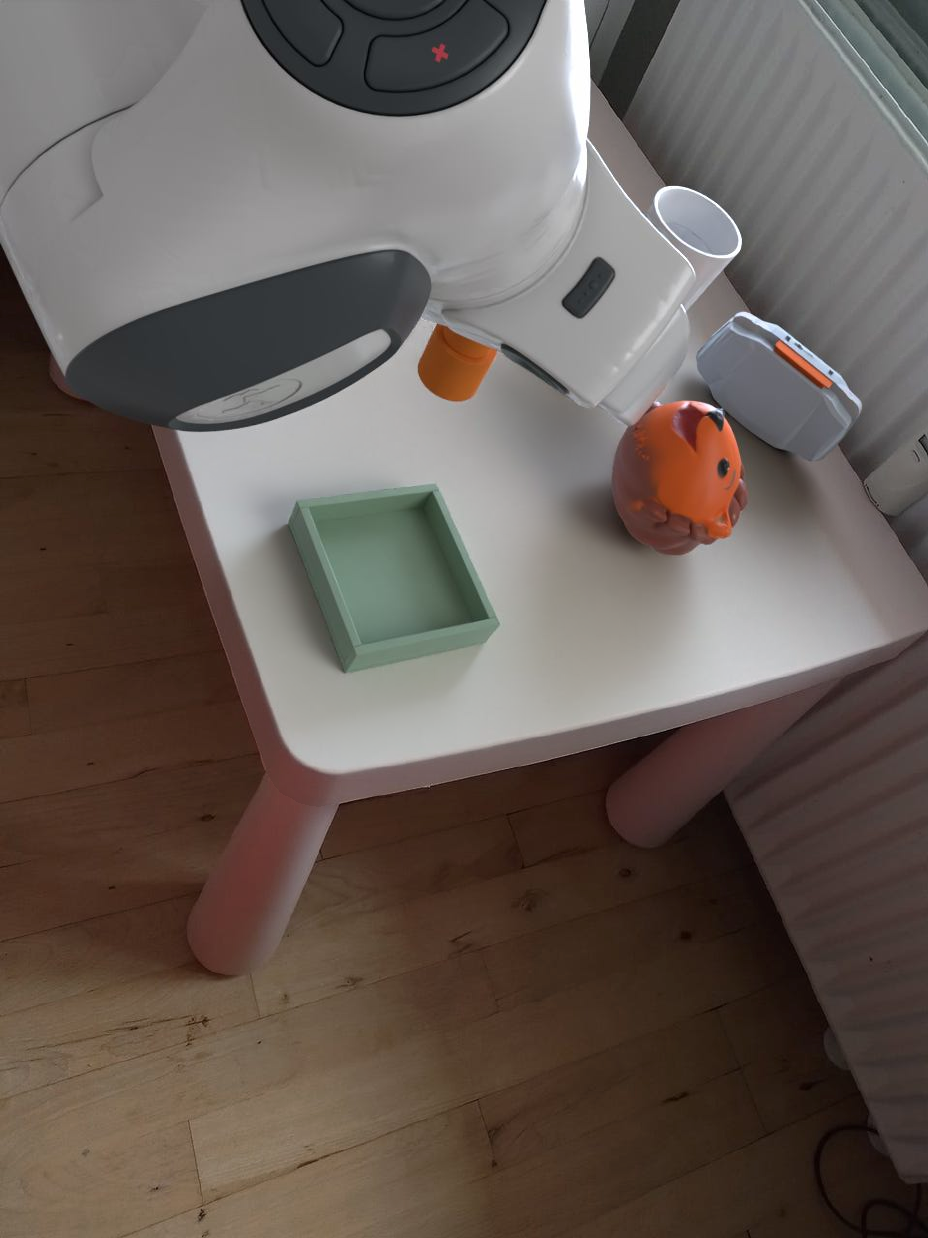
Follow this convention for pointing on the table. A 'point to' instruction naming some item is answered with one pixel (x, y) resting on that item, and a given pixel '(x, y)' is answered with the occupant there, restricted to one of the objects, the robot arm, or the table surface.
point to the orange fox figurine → (679, 477)
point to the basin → (391, 575)
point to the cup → (696, 233)
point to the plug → (454, 364)
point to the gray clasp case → (777, 387)
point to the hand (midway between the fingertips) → (494, 292)
